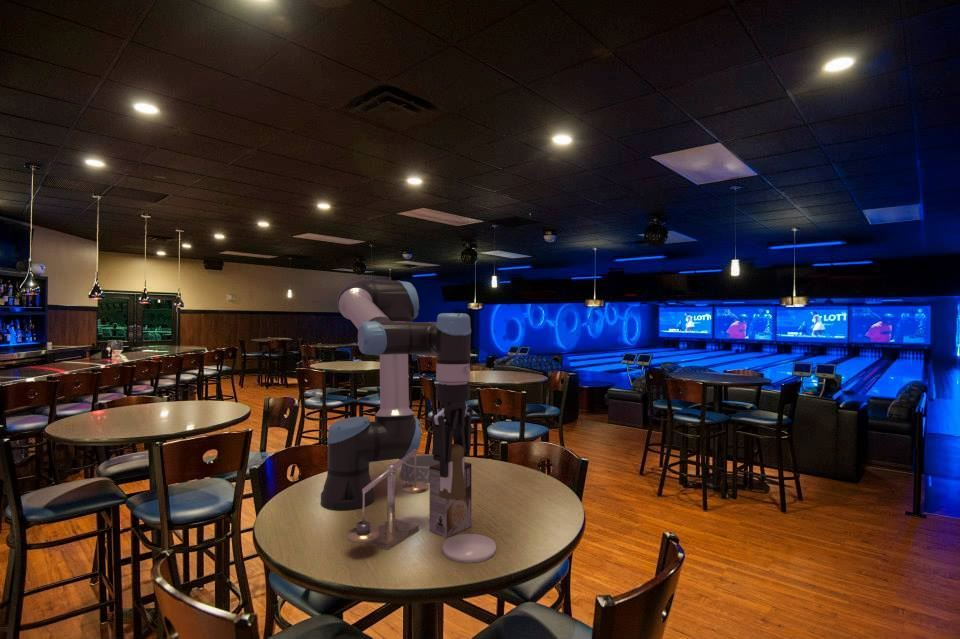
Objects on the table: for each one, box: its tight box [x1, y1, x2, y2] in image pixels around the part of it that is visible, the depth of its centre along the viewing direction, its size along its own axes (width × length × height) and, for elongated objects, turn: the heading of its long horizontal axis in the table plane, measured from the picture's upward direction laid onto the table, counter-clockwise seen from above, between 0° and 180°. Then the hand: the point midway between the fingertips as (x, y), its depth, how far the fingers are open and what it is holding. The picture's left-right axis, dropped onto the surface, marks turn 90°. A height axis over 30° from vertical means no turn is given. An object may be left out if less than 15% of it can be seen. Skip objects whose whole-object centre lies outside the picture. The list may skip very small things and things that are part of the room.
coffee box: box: [428, 461, 472, 538], centre depth 124 cm, size 9×6×16 cm
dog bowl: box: [398, 453, 440, 484], centre depth 168 cm, size 17×18×5 cm
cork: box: [439, 443, 466, 499], centre depth 109 cm, size 6×6×11 cm
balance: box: [346, 449, 430, 551], centre depth 119 cm, size 8×26×19 cm, turn 151°
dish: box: [442, 533, 497, 564], centre depth 112 cm, size 12×12×1 cm
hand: (452, 488), depth 109 cm, fingers closed on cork, 4 cm apart
